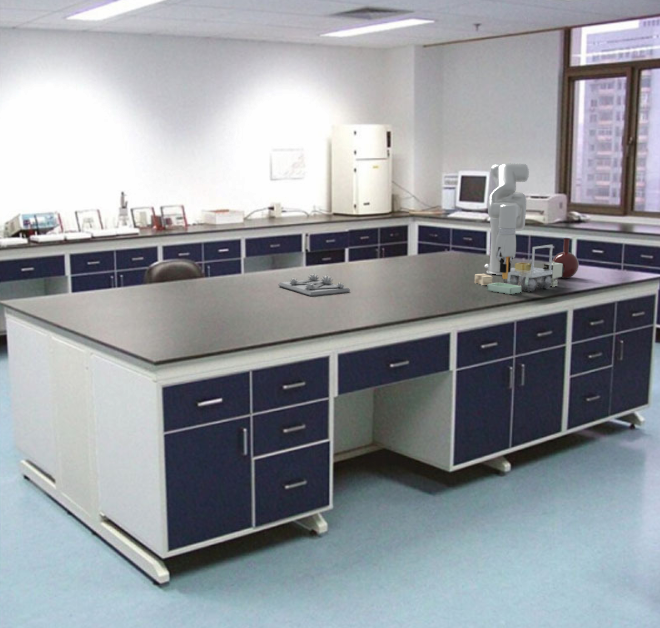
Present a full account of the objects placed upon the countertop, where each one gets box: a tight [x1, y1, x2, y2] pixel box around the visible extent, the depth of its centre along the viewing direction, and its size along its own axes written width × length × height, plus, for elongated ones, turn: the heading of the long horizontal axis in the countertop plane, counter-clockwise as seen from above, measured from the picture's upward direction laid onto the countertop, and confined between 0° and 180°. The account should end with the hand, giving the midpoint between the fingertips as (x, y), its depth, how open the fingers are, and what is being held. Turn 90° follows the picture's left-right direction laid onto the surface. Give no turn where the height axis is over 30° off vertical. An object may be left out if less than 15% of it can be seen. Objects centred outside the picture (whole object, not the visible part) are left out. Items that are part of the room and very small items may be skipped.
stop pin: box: [501, 256, 510, 280], centre depth 402 cm, size 3×3×11 cm
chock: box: [474, 273, 493, 286], centre depth 423 cm, size 8×5×4 cm, turn 21°
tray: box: [486, 281, 523, 295], centre depth 404 cm, size 13×8×3 cm, turn 42°
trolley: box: [503, 244, 554, 293], centre depth 411 cm, size 17×16×21 cm
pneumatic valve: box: [542, 261, 564, 288], centre depth 418 cm, size 6×12×12 cm, turn 131°
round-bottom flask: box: [552, 237, 580, 279], centre depth 441 cm, size 13×13×20 cm
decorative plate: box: [278, 273, 351, 297], centre depth 405 cm, size 30×22×7 cm
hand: (505, 271), depth 402 cm, fingers closed on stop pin, 2 cm apart
